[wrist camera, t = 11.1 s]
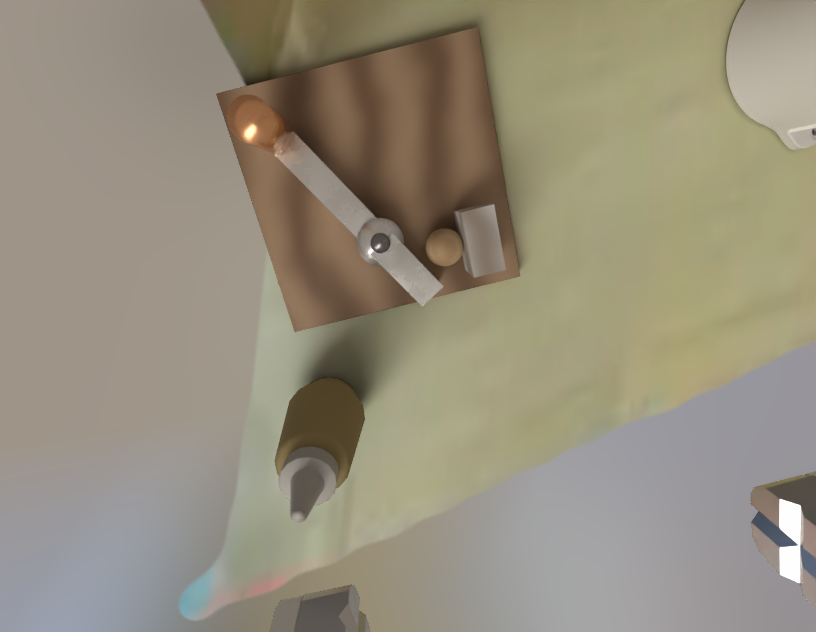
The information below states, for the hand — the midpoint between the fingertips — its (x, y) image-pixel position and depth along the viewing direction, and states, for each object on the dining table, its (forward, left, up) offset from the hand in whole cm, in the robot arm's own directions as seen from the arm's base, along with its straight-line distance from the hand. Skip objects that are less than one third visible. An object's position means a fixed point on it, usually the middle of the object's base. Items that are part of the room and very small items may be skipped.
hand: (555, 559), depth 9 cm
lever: (+5, -7, -36) cm, 37 cm away
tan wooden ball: (-3, -2, -36) cm, 36 cm away
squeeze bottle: (+13, +12, -37) cm, 41 cm away
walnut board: (+2, -8, -37) cm, 38 cm away
